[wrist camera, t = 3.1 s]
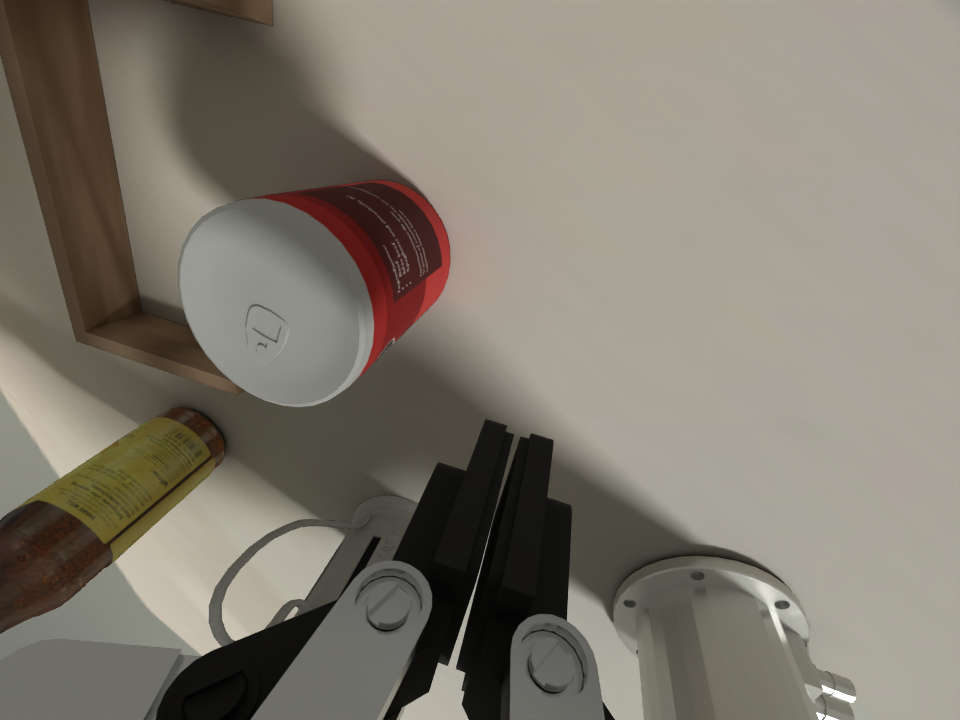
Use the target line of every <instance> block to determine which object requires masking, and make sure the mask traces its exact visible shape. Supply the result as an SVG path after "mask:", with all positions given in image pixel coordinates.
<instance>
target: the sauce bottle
mask: <svg viewBox="0 0 960 720" xmlns="http://www.w3.org/2000/svg"><path fill="white" fill-rule="evenodd" d="M224 455H225V444H224V440H223V438H222V436H221V434H220V432H219V431H218V430H217V428H216V427H215V426H214V424H213V423H212V422H210V421H209V420H208V419H207V418H205V417H204V416H202V415H201V414H200V413H198V412H195V411H192V410H190V409H184V408H173V409H171V410H169V411H167V412H165V413H163V414H161V415H159V416H158V417H156V418H152V419H150V420H148V421H147V422H145V423H144V424H142V425H141V426H139V427H138V428H136V429H135V430H133V431H132V432H130V433H128V434H127V435H125V436H124V437H122V438H121V439H119V440H118V441H116V442H115V443H113V444H112V445H110V446H109V447H107V448H106V449H104V450H103V451H101V452H100V453H98V454H97V455H95V456H94V457H92V458H91V459H89V460H87V461H86V462H85V463H83V464H82V465H80V466H78V467H77V468H76V469H74V470H73V471H71V472H70V473H68V474H66V475H65V476H63V477H62V478H61V479H59V480H57V481H55V482H54V483H53V484H51V485H50V486H48V487H47V488H45V489H44V490H43V491H41V492H40V493H38V494H36V495H35V496H34V497H32V498H30V499H28V500H27V501H26V502H24V503H23V504H21V505H20V506H18V507H17V508H15V509H14V510H12V511H11V512H9V513H8V514H7V515H5V516H4V517H3V518H2V519H1V520H0V634H1V633H2V632H4V631H6V630H8V629H10V628H12V627H14V626H15V625H17V624H20V623H22V622H23V621H26V620H28V619H30V618H32V617H36V616H40V615H42V614H44V613H46V612H49V611H51V610H54V609H56V608H58V607H60V606H62V605H63V604H64V603H65V602H66V601H68V600H69V599H71V598H72V597H73V596H74V595H75V594H76V593H77V592H79V591H80V590H81V589H82V588H83V587H84V586H85V585H86V583H88V582H89V581H90V580H91V579H93V578H94V577H95V576H96V575H97V574H98V573H99V572H101V571H102V569H104V568H106V567H108V566H109V565H111V564H112V563H113V562H114V561H115V560H116V559H117V558H119V557H120V556H121V555H122V554H123V553H124V552H125V551H126V550H127V549H128V548H129V547H131V546H132V545H133V544H134V543H135V542H136V541H137V540H138V539H139V538H140V537H142V536H143V535H144V534H145V533H146V532H147V531H148V530H149V529H150V528H151V527H153V526H154V525H155V524H156V523H157V522H158V521H159V520H160V519H161V518H162V517H164V516H165V515H166V514H167V513H168V512H169V511H170V510H171V509H172V508H174V507H175V506H176V505H177V504H178V503H179V502H180V501H181V500H183V499H184V498H185V497H186V496H187V495H188V494H189V493H190V492H191V491H192V490H194V489H195V488H196V487H197V486H198V485H199V484H200V483H201V482H202V481H203V480H205V479H206V478H207V477H208V476H209V475H210V474H211V473H212V472H213V470H214V469H215V468H216V467H217V466H218V465H220V464H221V462H222V460H223V458H224Z"/></svg>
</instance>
